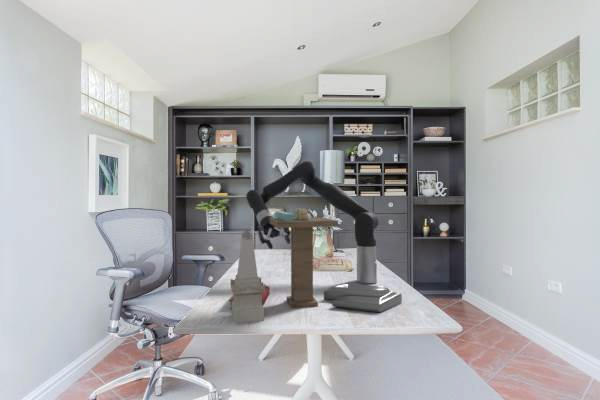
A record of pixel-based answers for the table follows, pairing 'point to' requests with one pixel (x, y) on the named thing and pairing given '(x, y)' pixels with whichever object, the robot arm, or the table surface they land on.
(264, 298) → the hardcover book
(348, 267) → the mottled tan slab
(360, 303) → the striped bevelled slab
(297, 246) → the shelf stand
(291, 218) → the slat
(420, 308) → the table surface
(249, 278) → the miniature monument
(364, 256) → the robot arm
